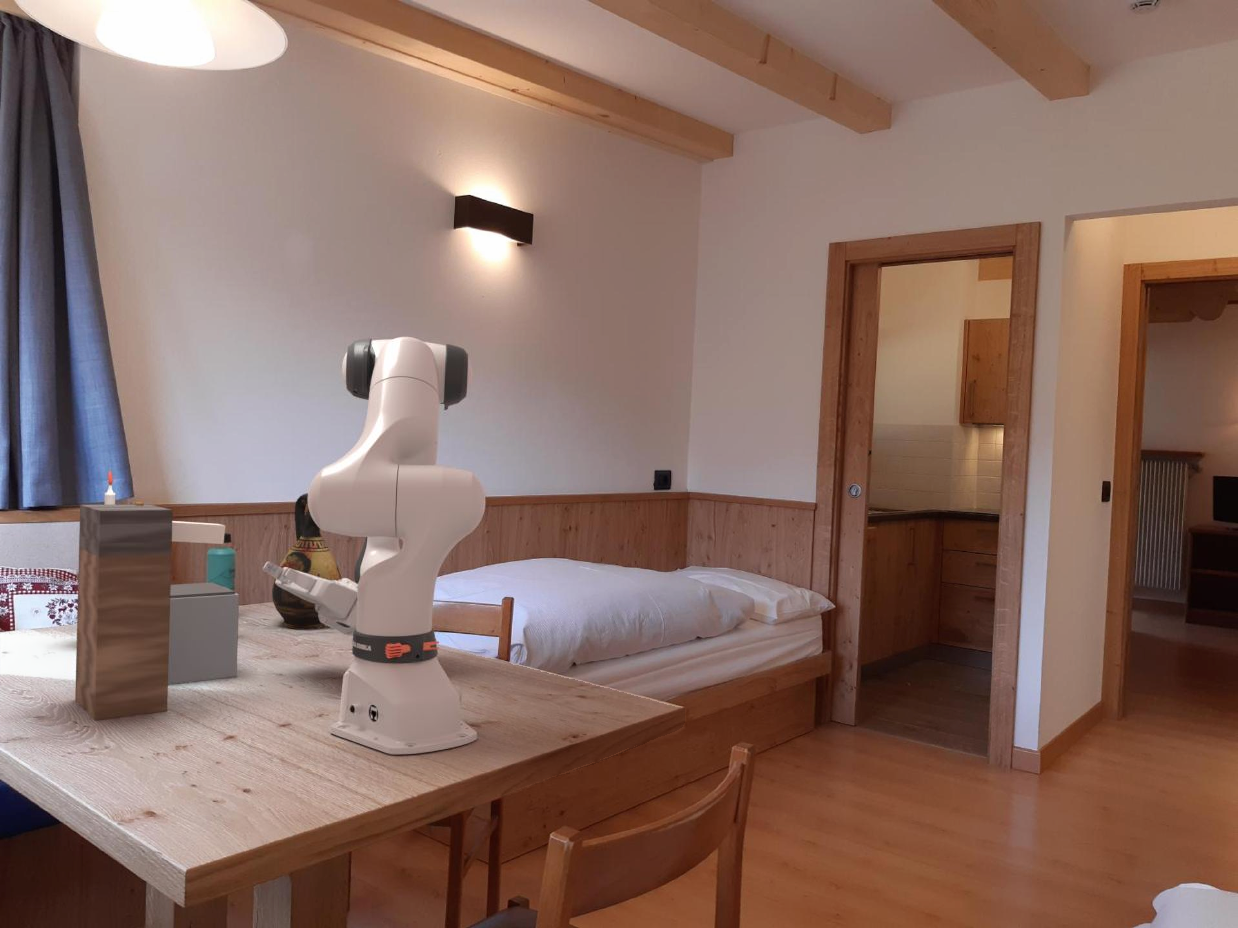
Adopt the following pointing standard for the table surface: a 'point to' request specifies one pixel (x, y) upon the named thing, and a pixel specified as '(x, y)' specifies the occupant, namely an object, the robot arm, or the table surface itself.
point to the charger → (197, 532)
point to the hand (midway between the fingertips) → (275, 568)
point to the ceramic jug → (304, 570)
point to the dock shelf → (202, 632)
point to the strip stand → (123, 609)
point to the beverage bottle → (221, 565)
